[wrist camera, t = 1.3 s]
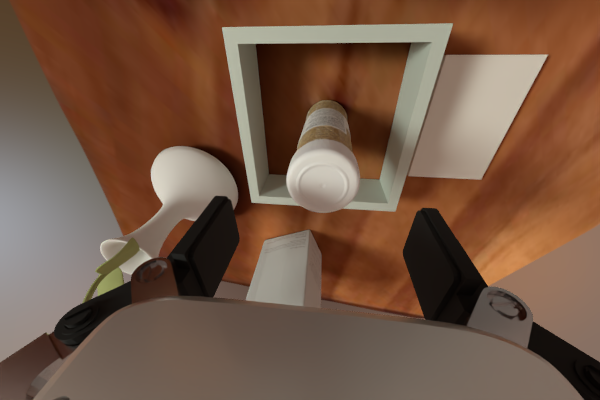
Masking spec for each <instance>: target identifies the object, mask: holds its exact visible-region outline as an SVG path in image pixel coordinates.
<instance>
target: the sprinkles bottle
mask: <svg viewBox="0 0 600 400" xmlns="http://www.w3.org/2000/svg"><path fill="white" fill-rule="evenodd" d="M286 183H287V188H288V191H289V193H290V195H291V197H292V198H293V200H294V201H295V202H296V203H297V204H299V205H300V206H301V207H303V208H305V209H307V210H310V211H313V212H318V213H329V212H334V211H337V210H340V209H342V208H344V207H345V206H347V205H348V204H349V203H350V202H351V201H352V200H353V199H354V198H355V196H356V194H357V192H358V190H359V186H360V174H359V168H358V164H357V160H356V158H355V156H354V154H353V152H352V146H351V136H350V131H349V126H348V122H347V114H346V112H345V110H344V108H343V107H342V106H341V105H340V104H338V103H337V102H335V101H331V100H323V101H319V102H318V103H316V104H314V105H313V106H312V107H311V108H310V110H309V111H308V113H307V117H306V122H305V124H304V127H303V130H302V133H301V136H300V139H299V142H298V146H297V151H296V153H295V154H294V155H293V157H292V159H291V162H290V165H289V168H288V172H287V178H286Z"/></svg>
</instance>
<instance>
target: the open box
mask: <svg viewBox="0 0 600 400" xmlns="http://www.w3.org/2000/svg"><path fill="white" fill-rule="evenodd" d="M452 26H453V23H451V24H392V25H333V26H273V27H222V30H223V36H224V42H225V48H226V54H227V60H228V66H229V72H230V78H231V84H232V89H233V95H234V101H235V107H236V113H237V119H238V125H239V131H240V137H241V143H242V149H243V155H244V161H245V167H246V173H247V178H248V184H249V190H250V196H251V202H252V203H264V204H280V205H296V206H300V205H299V204H297V203H296V202H295V201H294V200H293V198H292V197H291V195H290V193H289V191H288V188H287V183H286V178H287V175H273V174H269V169H268V159H267V149H266V139H265V130H264V120H263V110H262V100H261V91H260V81H259V71H258V61H257V51H256V44H276V43H383V42H411V46H410V50H409V54H408V59H407V63H406V68H405V72H404V76H403V81H402V85H401V89H400V94H399V98H398V102H397V107H396V111H395V115H394V120H393V124H392V128H391V133H390V137H389V141H388V146H387V150H386V154H385V159H384V163H383V167H382V172H381V176H380V180H376V179H360V186H359V190H358V192H357V194H356V196H355V198H354V199H353V200H352V201H351V202H350V203H349V204H348V205H347V206H345V207H344V208H345V209H361V210H377V211H394V212H395V211H396V208H397V205H398V201H399V198H400V195H401V192H402V188H403V185H404V182H405V179H406V175H407V172H408V169H409V166H410V162H411V159H412V156H413V153H414V149H415V146H416V143H417V140H418V136H419V133H420V130H421V127H422V123H423V120H424V117H425V114H426V110H427V107H428V104H429V101H430V97H431V94H432V91H433V88H434V84H435V81H436V78H437V74H438V71H439V68H440V65H441V61H442V58H443V55H444V52H445V48H446V45H447V42H448V39H449V35H450V32H451V29H452Z"/></svg>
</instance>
